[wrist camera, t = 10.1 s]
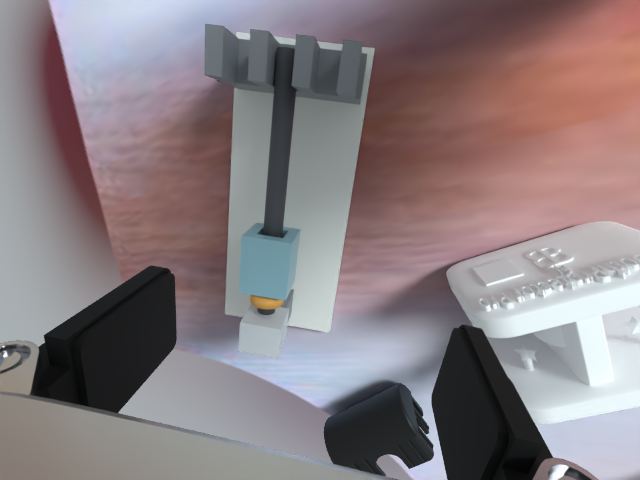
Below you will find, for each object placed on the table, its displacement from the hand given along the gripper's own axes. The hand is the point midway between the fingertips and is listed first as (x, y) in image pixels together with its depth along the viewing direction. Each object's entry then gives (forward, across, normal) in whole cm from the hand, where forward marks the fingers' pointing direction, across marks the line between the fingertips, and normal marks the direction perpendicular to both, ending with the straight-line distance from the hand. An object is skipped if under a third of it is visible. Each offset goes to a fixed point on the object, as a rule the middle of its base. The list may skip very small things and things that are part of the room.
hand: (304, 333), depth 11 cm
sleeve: (+18, +6, +5) cm, 20 cm away
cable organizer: (+24, -19, +6) cm, 32 cm away
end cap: (+23, -8, +26) cm, 35 cm away
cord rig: (+23, +6, +2) cm, 24 cm away
